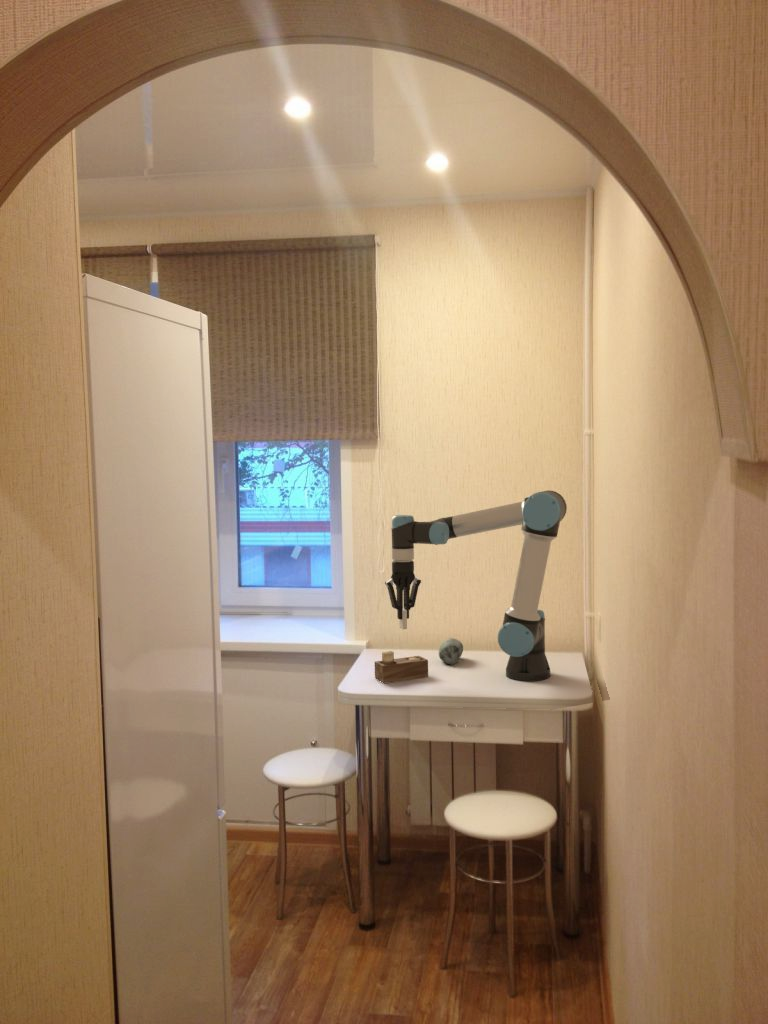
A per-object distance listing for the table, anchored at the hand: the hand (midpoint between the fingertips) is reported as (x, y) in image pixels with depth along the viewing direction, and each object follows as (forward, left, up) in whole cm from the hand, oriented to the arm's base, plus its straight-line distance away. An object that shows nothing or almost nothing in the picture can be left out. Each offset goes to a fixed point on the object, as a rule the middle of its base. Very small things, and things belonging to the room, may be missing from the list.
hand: (403, 628), depth 308 cm
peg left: (0, +6, -14) cm, 15 cm away
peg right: (0, -4, -17) cm, 17 cm away
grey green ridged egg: (+12, -25, -17) cm, 32 cm away
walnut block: (0, +1, -17) cm, 17 cm away
